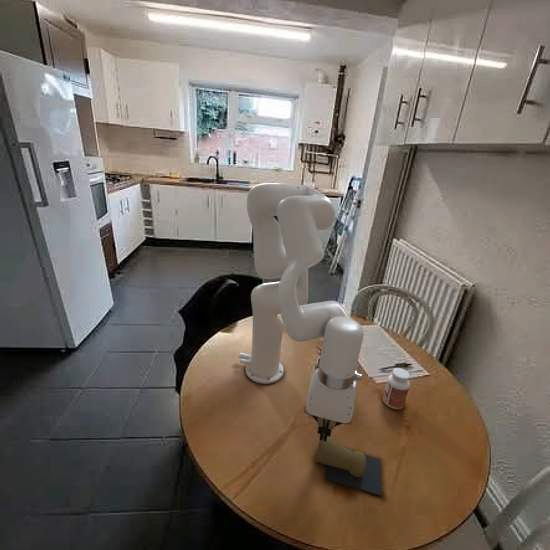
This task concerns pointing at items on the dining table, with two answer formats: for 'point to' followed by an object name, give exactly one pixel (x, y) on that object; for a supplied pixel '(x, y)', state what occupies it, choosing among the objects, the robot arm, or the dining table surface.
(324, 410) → the robot arm
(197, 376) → the dining table surface
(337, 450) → the olive green waisted cylinder
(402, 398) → the pill bottle
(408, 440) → the dining table surface
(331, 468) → the mat
